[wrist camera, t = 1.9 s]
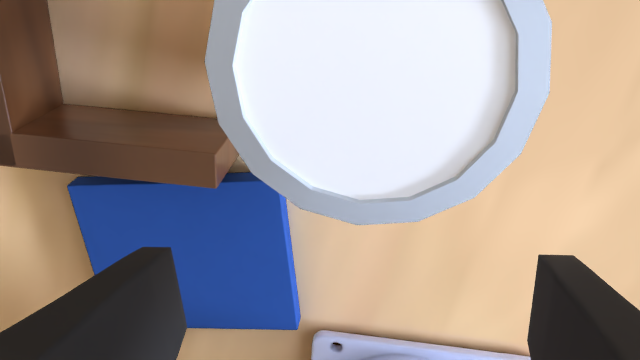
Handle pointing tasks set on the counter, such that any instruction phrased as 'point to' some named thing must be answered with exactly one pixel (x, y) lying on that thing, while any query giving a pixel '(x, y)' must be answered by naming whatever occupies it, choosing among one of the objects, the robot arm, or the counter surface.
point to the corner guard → (92, 119)
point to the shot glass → (378, 98)
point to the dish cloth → (200, 244)
